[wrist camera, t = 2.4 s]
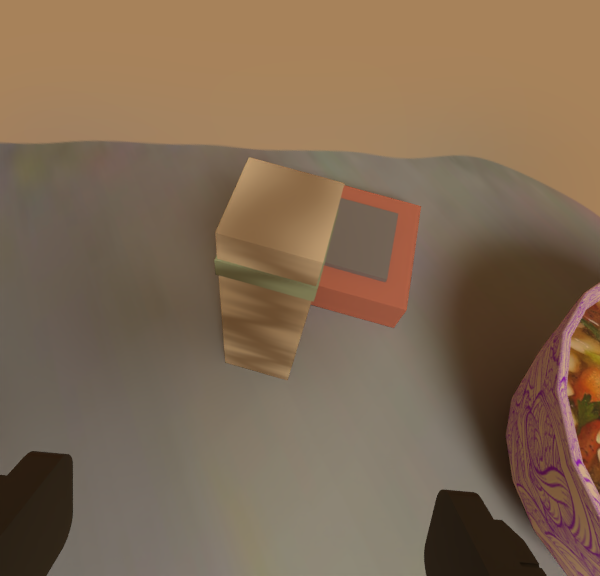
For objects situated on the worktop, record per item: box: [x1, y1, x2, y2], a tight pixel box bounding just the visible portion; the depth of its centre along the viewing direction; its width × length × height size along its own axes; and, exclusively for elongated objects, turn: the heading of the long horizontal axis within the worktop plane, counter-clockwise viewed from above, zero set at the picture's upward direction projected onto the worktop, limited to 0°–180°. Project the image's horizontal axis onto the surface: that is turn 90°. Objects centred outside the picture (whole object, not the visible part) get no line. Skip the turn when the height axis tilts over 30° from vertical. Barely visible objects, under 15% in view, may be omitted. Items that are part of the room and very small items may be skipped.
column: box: [214, 157, 345, 380], centre depth 25 cm, size 5×5×15 cm
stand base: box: [311, 185, 421, 328], centre depth 35 cm, size 10×10×3 cm
